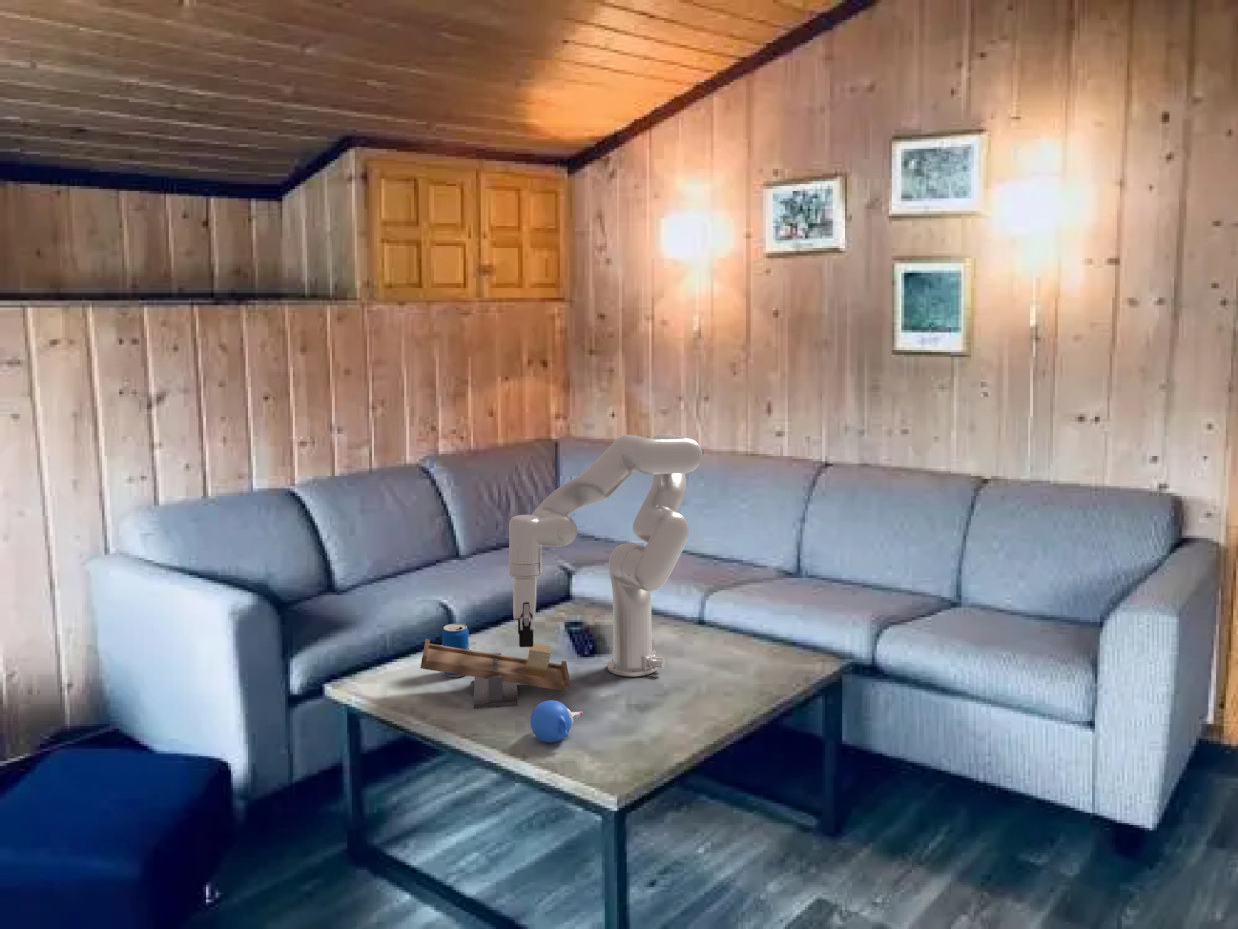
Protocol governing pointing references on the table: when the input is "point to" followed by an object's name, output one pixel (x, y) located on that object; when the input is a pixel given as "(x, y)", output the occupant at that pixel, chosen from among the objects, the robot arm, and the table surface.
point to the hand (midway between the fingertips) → (525, 640)
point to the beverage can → (455, 639)
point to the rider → (537, 660)
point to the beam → (491, 666)
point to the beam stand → (494, 692)
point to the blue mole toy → (552, 721)
